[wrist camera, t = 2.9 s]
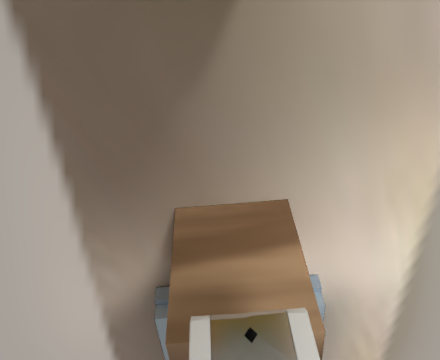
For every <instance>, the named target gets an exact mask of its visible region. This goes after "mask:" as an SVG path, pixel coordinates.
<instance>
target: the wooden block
mask: <svg viewBox="0 0 440 360" xmlns="http://www.w3.org/2000/svg"><path fill="white" fill-rule="evenodd" d="M294 308H305V309H306V310H307V312H308V316H309V319H310V323H311V327H312V330H313V334H314V338H315V342H316V345H317V349H318V353H319V357H320V360H322V353H323V345H324V337H325V329H324V325H323V322H322V318H321V314H320V311H319V307H318V304H317V300H316V297H315V293H314V290H313V286H312V283H311V279H310V276H309V272H308V269H307V265H306V262H305V258H304V255H303V251H302V248H301V244H300V241H299V237H298V234H297V230H296V227H295V223H294V220H293V216H292V213H291V209H290V206H289V202H288V199H286V200H273V201H261V202H249V203H236V204H224V205H212V206H200V207H187V208H175V220H174V234H173V247H172V261H171V275H170V288H169V302H168V316H167V329H166V343H165V344H166V348H167V352H168V356H169V360H189V334H190V319H191V316H204V315H210V316H211V315H222V314H241V313H248V312H256V311H267V310H277V309H285V310H286V309H294Z"/></svg>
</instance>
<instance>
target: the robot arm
mask: <svg viewBox="0 0 440 360" xmlns="http://www.w3.org/2000/svg"><path fill="white" fill-rule="evenodd" d="M189 360H320V357H319V353H318V349H317V345H316V342H315V338H314V334H313V330H312V327H311V323H310V319H309V316H308V312H307V310H306V309H305V308H294V309H286V310H285V309H277V310H267V311H256V312H248V313H241V314H222V315H211V316H210V315H204V316H191V319H190V334H189Z"/></svg>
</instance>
